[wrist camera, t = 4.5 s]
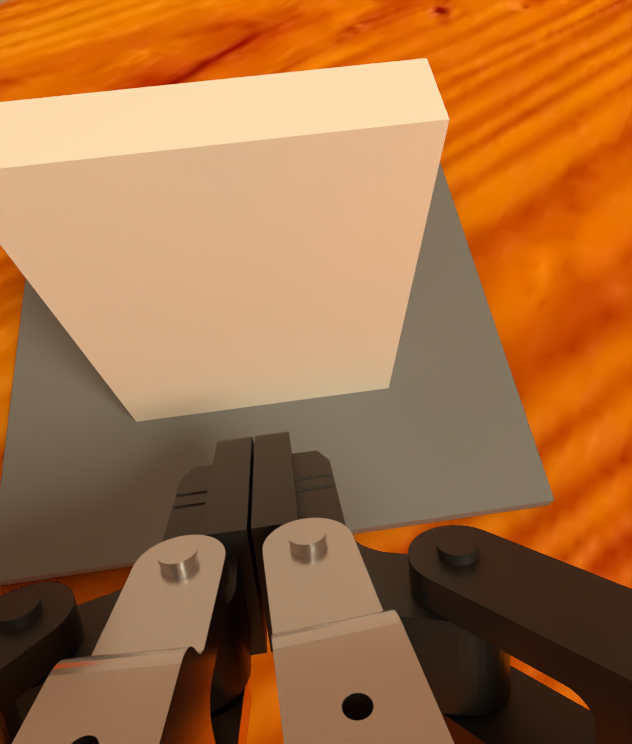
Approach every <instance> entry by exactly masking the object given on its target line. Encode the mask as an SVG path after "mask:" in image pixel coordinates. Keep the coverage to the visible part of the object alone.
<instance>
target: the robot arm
mask: <svg viewBox="0 0 632 744" xmlns="http://www.w3.org/2000/svg"><path fill="white" fill-rule="evenodd" d="M172 507H173V510H171V513H170V517H169V520H168V523H167V527H166V530H165V533H164V537H163V540H162V542H161V543H159V544H157V545H155V546H153V547H152V548H150V549H149V550H147V551H146V552H145V553H144V554H143V555H141V556H140V558H139V559H138V560H137V561H136V563H135V564H134V566H133V568H132V570H131V572H130V574H129V577H128V579H127V581H126V583H125V585H124V587H123V588H122V589H120V590H118V591H116V592H113V593H111V594H108V595H105V596H103V597H100V598H97V599H94V600H91V601H88V602H86V603H83V604H80V605H77V604H76V600H75V597H74V594H73V591H72V590H71V589H70V588H69V587H68V586H66V585H64V584H61V583H55V582H44V583H36V584H32V585H28V586H24V587H21V588H18V589H16V590H13V591H11V592H9V593H7V594H4V595H2V596H1V597H0V743H1V744H246V742H247V733H248V724H249V715H250V707H251V690H250V685H249V677H250V671H251V655H255V654H261V653H267V630H268V636H269V642H270V648H271V652H273V654H274V663H275V671H276V679H277V688H278V696H279V705H280V713H281V721H282V730H283V738H284V744H632V589H630V588H628V587H625V586H623V585H620V584H618V583H615V582H613V581H610V580H608V579H605V578H602V577H600V576H597V575H595V574H592V573H590V572H587V571H585V570H582V569H580V568H577V567H575V566H572V565H570V564H567V563H565V562H562V561H560V560H557V559H555V558H552V557H549V556H547V555H544V554H542V553H539V552H537V551H534V550H532V549H529V548H527V547H524V546H522V545H519V544H517V543H514V542H512V541H509V540H507V539H504V538H502V537H499V536H497V535H494V534H491V533H489V532H486V531H484V530H481V529H478V528H474V527H469V526H461V525H449V526H441V527H436V528H433V529H429V530H427V531H425V532H423V533H421V534H420V535H418V536H417V537H416V538H415V539H414V540H413V541H412V543H411V544H410V546H409V549H408V554H400V553H388V552H381V551H377V550H373V549H370V548H367V547H365V546H363V545H361V544H359V543H358V542H356V541H355V539H354V537H353V534H352V533H351V531H350V530H349V529H348V528H347V527H346V524H345V520H344V516H343V512H342V508H341V504H340V500H339V496H338V492H337V488H336V484H335V480H334V476H333V472H332V468H331V464H330V460H329V459H327V458H326V457H325V456H324V455H322V454H321V453H320V452H318V451H317V450H316V451H308V452H301V453H294V454H292V450H291V442H290V435H289V431H287V432H279V433H272V434H264V435H257V436H255V442H254V440H253V437H252V436H250V437H242V438H235V439H227V440H220V441H217V444H216V450H215V455H214V460H213V465H206V466H198V467H194V468H193V469H192V470H191V471H190V472H189V473H187V474H186V475H185V476H184V477H183V478H182V479H181V480H180V483H179V486H178V490H177V493H176V498H175V500H174V503H173V506H172ZM510 655H511V656H513V657H515V658H517V659H519V660H520V661H522V662H524V663H526V664H528V665H529V666H531V667H533V668H535V669H537V670H539V671H540V672H542V673H544V674H546V675H548V676H549V677H551V678H553V679H555V680H557V681H558V682H560V683H562V684H564V685H565V686H567V687H569V688H570V689H571V690H573V691H574V692H575V693H576V694H577V695H579V696H580V697H581V699H582V700H583V701H584V702H585V703H586V704H587V706H588V707H589V709H590V710H588V709H586V708H584V707H583V706H581V705H579V704H577V703H576V702H574V701H572V700H570V699H569V698H567V697H565V696H563V695H561V694H560V693H558V692H556V691H554V690H553V689H551V688H549V687H547V686H546V685H544V684H542V683H540V682H539V681H537V680H535V679H533V678H532V677H530V676H528V675H526V674H524V673H523V672H521V671H519V670H517V669H516V668H514V667H512V666H510Z"/></svg>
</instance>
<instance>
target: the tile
mask: <svg viewBox="0 0 632 744" xmlns="http://www.w3.org/2000/svg"><path fill="white" fill-rule="evenodd" d="M448 123H449V117H448V115H447V112H446V109H445V106H444V104H443V101H442V98H441V95H440V93H439V90H438V87H437V85H436V82H435V79H434V76H433V74H432V71H431V68H430V66H429V63H428V60H427V58H424V59H414V60H404V61H395V62H385V63H375V64H366V65H356V66H346V67H336V68H327V69H317V70H307V71H298V72H288V73H278V74H269V75H259V76H249V77H240V78H230V79H220V80H211V81H201V82H191V83H182V84H172V85H162V86H153V87H143V88H133V89H124V90H114V91H104V92H94V93H85V94H75V95H65V96H56V97H46V98H36V99H27V100H17V101H7V102H0V245H1V246H2V248H3V249H4V250H5V251H6V253H7V254H8V255H9V257H10V258H11V259H12V261H13V262H14V263H15V264H16V266H17V267H18V268H19V270H20V271H21V272H22V274H23V275H24V276H25V278H26V279H27V280H28V281H29V283H30V284H31V285H32V287H33V288H34V289H35V291H36V292H37V293H38V294H39V296H40V297H41V298H42V300H43V301H44V302H45V304H46V305H47V306H48V307H49V309H50V310H51V311H52V313H53V314H54V315H55V317H56V318H57V319H58V320H59V322H60V323H61V324H62V326H63V327H64V328H65V330H66V331H67V332H68V334H69V335H70V336H71V337H72V339H73V340H74V341H75V343H76V344H77V345H78V347H79V348H80V349H81V350H82V352H83V353H84V354H85V356H86V357H87V358H88V360H89V361H90V362H91V363H92V365H93V366H94V367H95V369H96V370H97V371H98V373H99V374H100V375H101V377H102V378H103V379H104V380H105V382H106V383H107V384H108V386H109V387H110V388H111V390H112V391H113V392H114V393H115V395H116V396H117V397H118V399H119V400H120V401H121V403H122V404H123V405H124V406H125V408H126V409H127V410H128V412H129V413H130V414H131V416H132V417H133V418H134V419H135V421H136V422H138V421H146V420H153V419H161V418H168V417H176V416H183V415H191V414H198V413H206V412H213V411H221V410H228V409H236V408H243V407H251V406H258V405H266V404H273V403H281V402H288V401H296V400H303V399H311V398H318V397H326V396H333V395H341V394H348V393H356V392H363V391H371V390H378V389H386V388H389V384H390V380H391V375H392V371H393V366H394V362H395V357H396V353H397V349H398V344H399V340H400V335H401V331H402V326H403V322H404V318H405V313H406V309H407V304H408V300H409V295H410V291H411V287H412V282H413V278H414V273H415V269H416V264H417V260H418V256H419V251H420V247H421V242H422V238H423V233H424V229H425V225H426V220H427V216H428V211H429V207H430V202H431V198H432V194H433V189H434V185H435V180H436V176H437V171H438V167H439V163H440V158H441V154H442V149H443V145H444V140H445V136H446V132H447V127H448Z"/></svg>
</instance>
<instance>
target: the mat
mask: <svg viewBox="0 0 632 744" xmlns="http://www.w3.org/2000/svg"><path fill="white" fill-rule="evenodd" d="M287 431H289V435H290V442H291V450H292V454H294V453H301V452H308V451H316V450H317V451H318V452H320V453H321V454H322V455H324V456H325V457H326V458H327V459H329V460H330V464H331V468H332V472H333V476H334V480H335V484H336V488H337V492H338V496H339V500H340V504H341V508H342V512H343V516H344V520H345V524H346V527H347V528H348V529H349V530H350V531H351V533H352V534H356V533H363V532H370V531H377V530H384V529H390V528H397V527H404V526H411V525H418V524H425V523H431V522H438V521H445V520H452V519H459V518H466V517H472V516H479V515H486V514H493V513H500V512H507V511H513V510H520V509H527V508H534V507H541V506H547V505H549V504H550V503H551V502H553V501H554V497H553V495H552V492H551V489H550V486H549V483H548V480H547V477H546V474H545V471H544V468H543V465H542V462H541V459H540V456H539V453H538V450H537V447H536V444H535V441H534V438H533V436H532V433H531V430H530V427H529V424H528V421H527V418H526V415H525V412H524V409H523V406H522V403H521V400H520V397H519V394H518V391H517V388H516V385H515V382H514V379H513V376H512V374H511V371H510V368H509V365H508V362H507V359H506V356H505V353H504V350H503V347H502V344H501V341H500V338H499V335H498V332H497V329H496V326H495V323H494V320H493V317H492V314H491V312H490V309H489V306H488V303H487V300H486V297H485V294H484V291H483V288H482V285H481V282H480V279H479V276H478V273H477V270H476V267H475V264H474V261H473V258H472V255H471V252H470V250H469V247H468V244H467V241H466V238H465V235H464V232H463V229H462V226H461V223H460V220H459V217H458V214H457V211H456V208H455V205H454V202H453V199H452V196H451V193H450V190H449V188H448V185H447V182H446V179H445V176H444V173H443V170H442V167H441V164H440V163H439V167H438V171H437V176H436V180H435V185H434V189H433V194H432V198H431V202H430V207H429V211H428V216H427V220H426V225H425V229H424V233H423V238H422V242H421V247H420V251H419V256H418V260H417V264H416V269H415V273H414V278H413V282H412V287H411V291H410V295H409V300H408V304H407V309H406V313H405V318H404V322H403V326H402V331H401V335H400V340H399V344H398V349H397V353H396V357H395V362H394V366H393V371H392V375H391V380H390V384H389V388H386V389H378V390H371V391H363V392H356V393H348V394H341V395H333V396H326V397H318V398H311V399H303V400H296V401H288V402H281V403H273V404H266V405H258V406H251V407H243V408H236V409H228V410H221V411H213V412H206V413H198V414H191V415H183V416H176V417H168V418H161V419H153V420H146V421H138V422H136V421H135V419H134V418H133V417H132V416H131V414H130V413H129V412H128V410H127V409H126V408H125V406H124V405H123V404H122V403H121V401H120V400H119V399H118V397H117V396H116V395H115V393H114V392H113V391H112V390H111V388H110V387H109V386H108V384H107V383H106V382H105V380H104V379H103V378H102V377H101V375H100V374H99V373H98V371H97V370H96V369H95V367H94V366H93V365H92V363H91V362H90V361H89V360H88V358H87V357H86V356H85V354H84V353H83V352H82V350H81V349H80V348H79V347H78V345H77V344H76V343H75V341H74V340H73V339H72V337H71V336H70V335H69V334H68V332H67V331H66V330H65V328H64V327H63V326H62V324H61V323H60V322H59V320H58V319H57V318H56V317H55V315H54V314H53V313H52V311H51V310H50V309H49V307H48V306H47V305H46V304H45V302H44V301H43V300H42V298H41V297H40V296H39V294H38V293H37V292H36V291H35V289H34V288H33V287H32V285H31V284H30V283H29V281H28V280H27V279H25V288H24V296H23V304H22V312H21V321H20V329H19V337H18V345H17V354H16V362H15V370H14V378H13V387H12V395H11V403H10V411H9V420H8V428H7V436H6V445H5V453H4V461H3V469H2V478H1V486H0V586H1V585H8V584H14V583H21V582H28V581H35V580H42V579H49V578H55V577H62V576H69V575H76V574H83V573H90V572H96V571H103V570H110V569H117V568H124V567H131V566H134V564H135V563H136V561H137V560H138V559H139V558H140V556H141V555H143V554H144V553H145V552H146V551H147V550H149V549H150V548H152V547H153V546H155V545H157V544H159V543H161V542H162V540H163V537H164V533H165V530H166V527H167V523H168V520H169V517H170V513H171V510H173V507H172V506H173V503H174V500H175V498H176V493H177V490H178V486H179V483H180V480H181V479H182V478H183V477H184V476H185V475H186V474H187V473H189V472H190V471H191V470H192V469H193V468H194V467H198V466H206V465H213V460H214V455H215V450H216V444H217V441H220V440H227V439H235V438H242V437H250V436H252V437H253V440H254V442H255V436H257V435H264V434H272V433H279V432H287Z"/></svg>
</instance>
